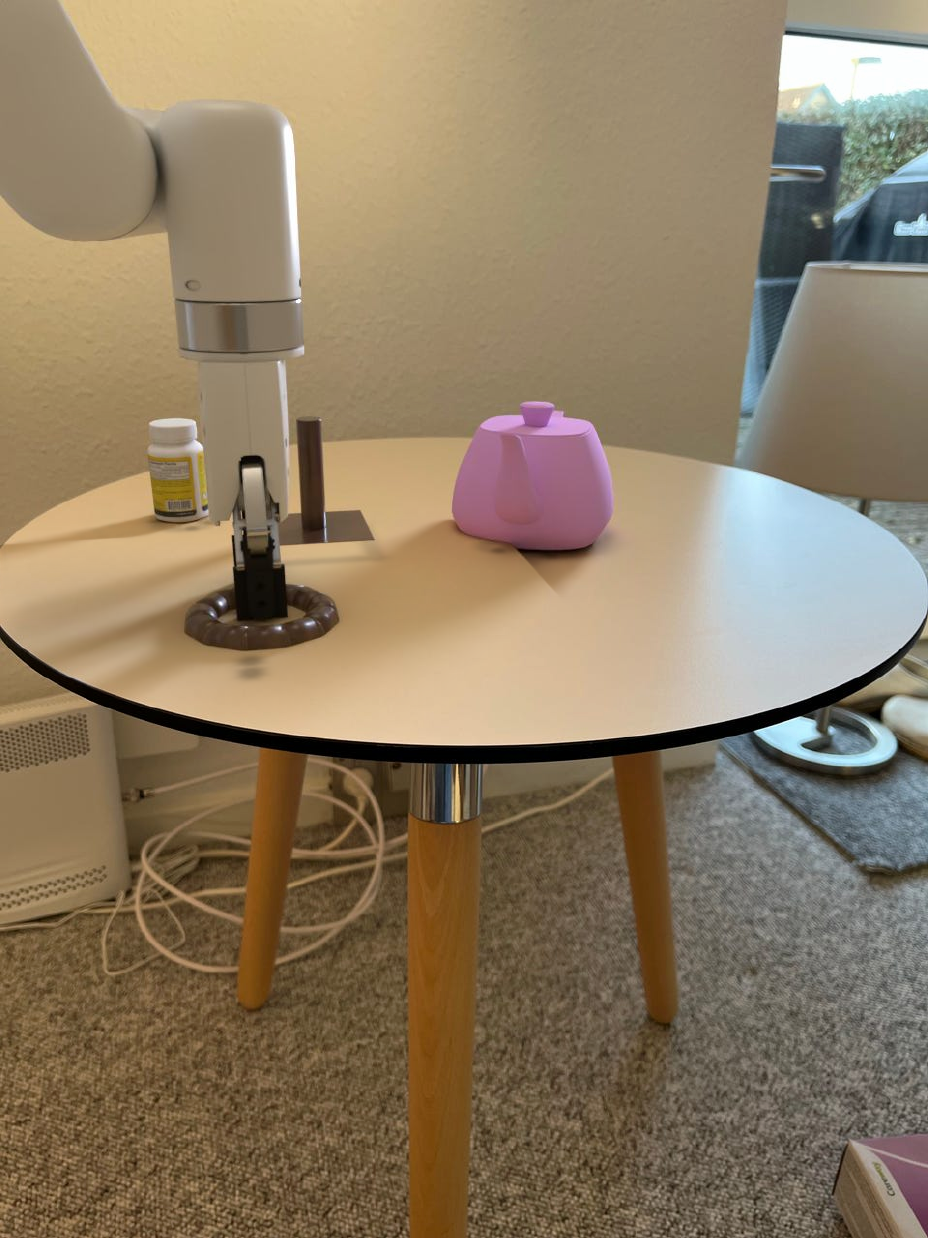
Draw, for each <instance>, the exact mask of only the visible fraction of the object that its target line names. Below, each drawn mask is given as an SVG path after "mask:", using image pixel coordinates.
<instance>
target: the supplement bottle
mask: <svg viewBox="0 0 928 1238" xmlns="http://www.w3.org/2000/svg"><path fill="white" fill-rule="evenodd" d="M148 437H149V440H150V441H151V442H152V443H151V444H149V446H148V447H147V452H146V453H147V462H148V470H149V479H150V486H151V488H150V489H151V495H152V496H151V497H152V504H153V510H154V516H155V518H156V519H157V520H159V521H163V522H168V523H189V522H195V521H198V520H201V519H204V518H206V517H207V516H209V513H208V501H207V489H206V478H205V467H204V456H203V445H202V444H201V443H200V442H199V441H198V440H197V439H198V429H197V422H196V421H195V420H194V419H191V418H182V417H172V418H160V419H155V420H152V421H150V422H148Z"/></svg>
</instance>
